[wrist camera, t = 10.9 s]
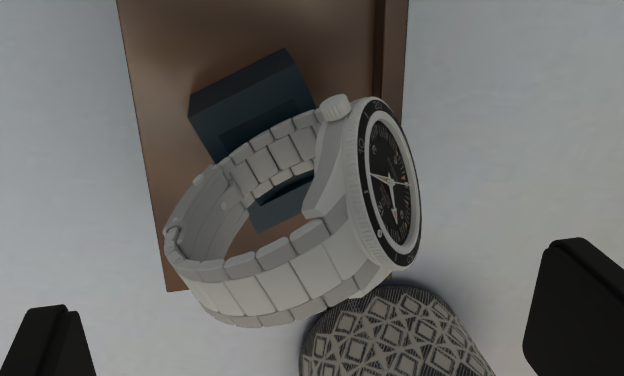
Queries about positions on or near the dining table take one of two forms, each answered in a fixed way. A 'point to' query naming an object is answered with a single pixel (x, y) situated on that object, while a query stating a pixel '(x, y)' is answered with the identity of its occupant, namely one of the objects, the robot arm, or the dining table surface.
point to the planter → (391, 338)
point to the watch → (292, 197)
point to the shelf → (234, 56)
